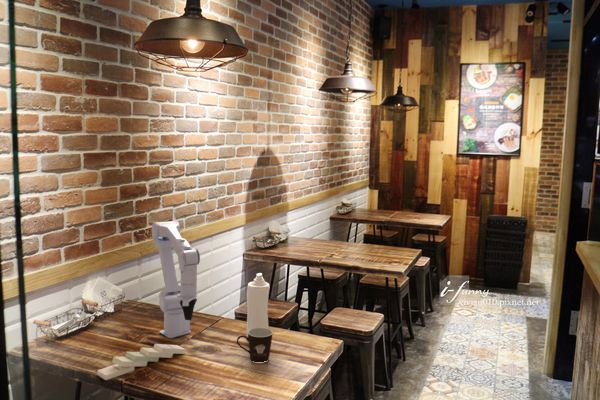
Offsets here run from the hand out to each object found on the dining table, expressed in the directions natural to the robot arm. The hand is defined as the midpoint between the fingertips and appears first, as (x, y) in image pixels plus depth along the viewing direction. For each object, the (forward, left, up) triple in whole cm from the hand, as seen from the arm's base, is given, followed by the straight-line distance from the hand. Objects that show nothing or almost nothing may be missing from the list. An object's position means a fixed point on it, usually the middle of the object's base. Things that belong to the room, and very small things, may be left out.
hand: (188, 319), depth 186 cm
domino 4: (+9, +2, -10) cm, 13 cm away
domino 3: (+14, +1, -10) cm, 17 cm away
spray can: (-25, +10, -11) cm, 29 cm away
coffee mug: (-12, +24, -11) cm, 28 cm away
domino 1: (+23, +2, -10) cm, 26 cm away
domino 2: (+19, +2, -10) cm, 22 cm away
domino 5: (+4, +2, -10) cm, 11 cm away
